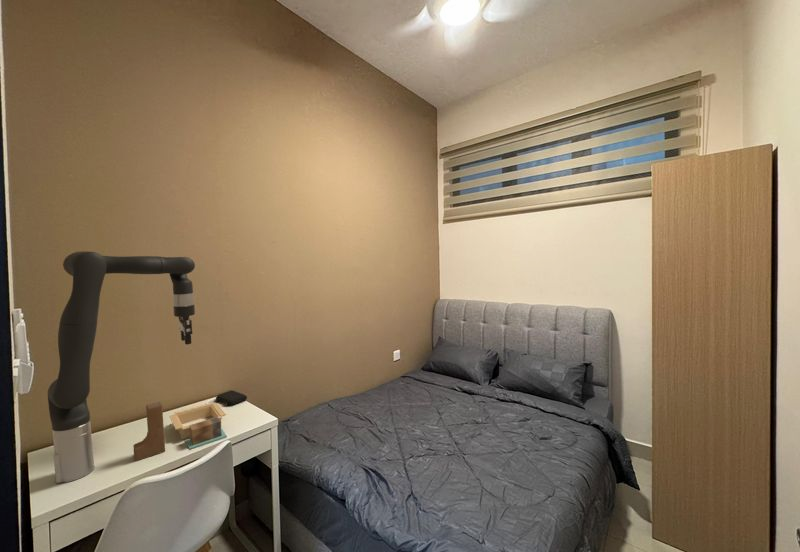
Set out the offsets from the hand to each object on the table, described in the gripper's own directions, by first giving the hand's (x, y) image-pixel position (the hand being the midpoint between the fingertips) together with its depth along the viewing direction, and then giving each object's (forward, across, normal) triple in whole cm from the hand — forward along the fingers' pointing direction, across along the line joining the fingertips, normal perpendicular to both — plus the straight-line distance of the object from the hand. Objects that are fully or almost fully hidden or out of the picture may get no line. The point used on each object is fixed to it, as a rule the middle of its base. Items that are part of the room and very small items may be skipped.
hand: (186, 342), depth 147 cm
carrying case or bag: (+37, -14, +20) cm, 44 cm away
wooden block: (+36, +15, -16) cm, 42 cm away
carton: (+36, +4, +2) cm, 36 cm away
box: (+36, +18, +2) cm, 40 cm away
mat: (+36, +18, +2) cm, 40 cm away
